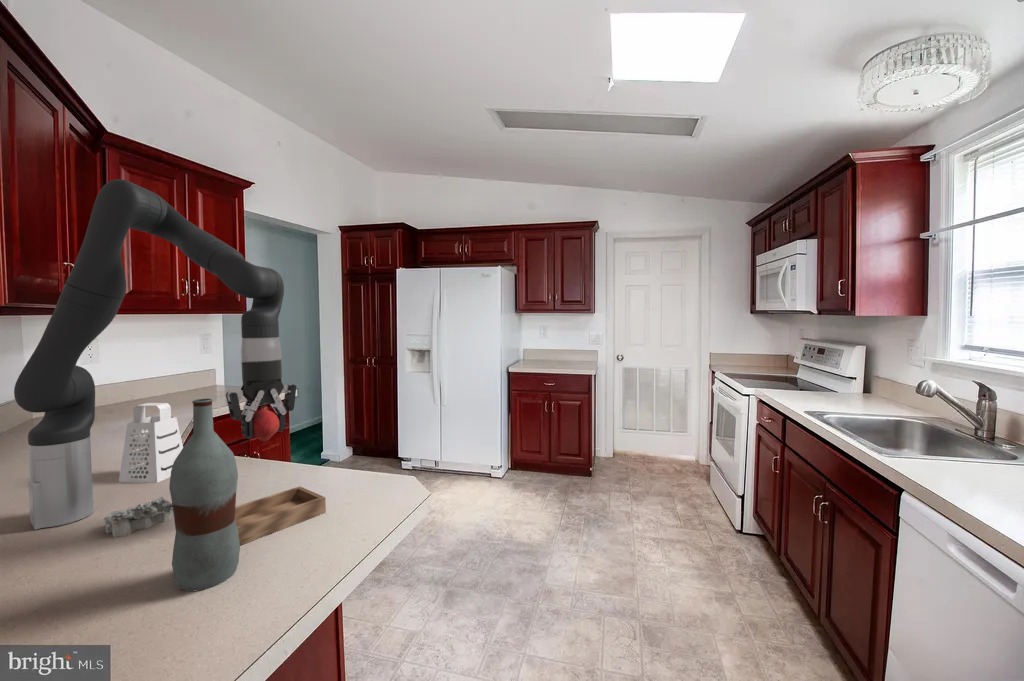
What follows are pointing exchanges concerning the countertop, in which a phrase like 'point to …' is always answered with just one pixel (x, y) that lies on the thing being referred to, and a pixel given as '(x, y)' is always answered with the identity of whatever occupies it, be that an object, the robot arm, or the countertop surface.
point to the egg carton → (138, 517)
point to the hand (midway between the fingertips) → (264, 434)
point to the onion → (265, 424)
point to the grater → (150, 445)
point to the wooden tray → (277, 512)
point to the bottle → (204, 506)
